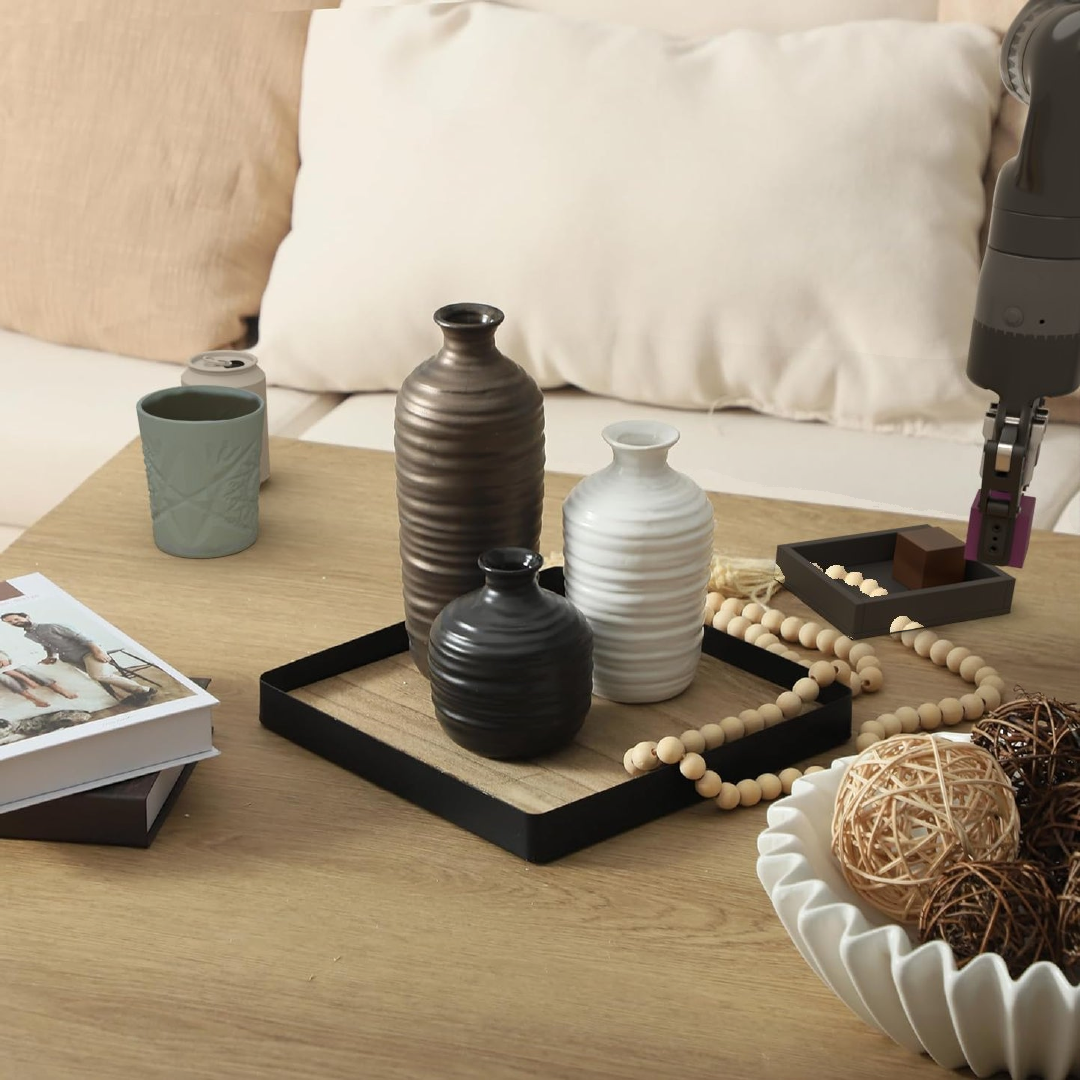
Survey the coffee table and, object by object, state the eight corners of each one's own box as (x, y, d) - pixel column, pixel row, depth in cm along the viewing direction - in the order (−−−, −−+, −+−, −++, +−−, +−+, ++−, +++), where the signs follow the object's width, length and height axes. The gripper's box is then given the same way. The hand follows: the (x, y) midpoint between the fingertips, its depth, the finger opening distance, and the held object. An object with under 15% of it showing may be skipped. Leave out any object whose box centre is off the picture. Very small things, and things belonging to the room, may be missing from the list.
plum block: (971, 539, 108) (978, 488, 106) (1028, 548, 106) (1036, 496, 105) (963, 559, 104) (970, 506, 103) (1022, 569, 103) (1030, 516, 101)
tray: (922, 555, 125) (927, 523, 124) (1010, 613, 116) (1016, 578, 114) (773, 578, 120) (776, 544, 119) (851, 640, 110) (856, 604, 109)
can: (266, 498, 133) (260, 370, 128) (182, 498, 132) (173, 369, 127) (273, 468, 140) (268, 346, 135) (193, 468, 139) (185, 345, 134)
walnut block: (931, 570, 121) (938, 526, 120) (961, 590, 118) (969, 544, 116) (890, 577, 120) (897, 532, 118) (919, 597, 117) (926, 551, 115)
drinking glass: (126, 532, 125) (114, 397, 120) (231, 506, 131) (224, 376, 126) (184, 572, 118) (174, 430, 113) (293, 542, 124) (288, 406, 119)
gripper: (1083, 349, 91) (1041, 600, 98) (1098, 298, 103) (1060, 525, 110) (958, 334, 94) (926, 580, 100) (988, 287, 106) (957, 509, 112)
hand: (996, 549), depth 105 cm, fingers closed on plum block, 4 cm apart
